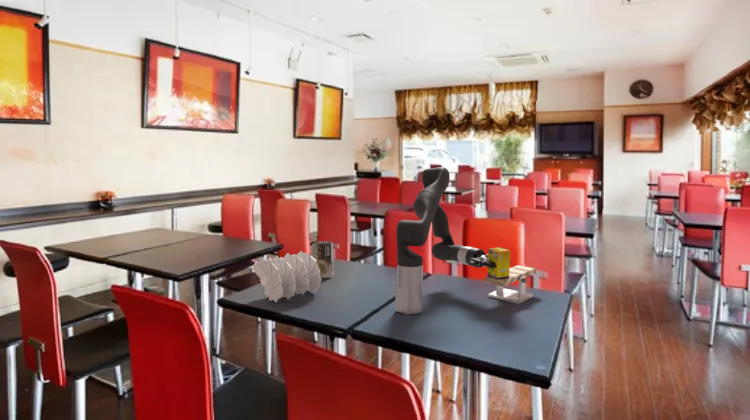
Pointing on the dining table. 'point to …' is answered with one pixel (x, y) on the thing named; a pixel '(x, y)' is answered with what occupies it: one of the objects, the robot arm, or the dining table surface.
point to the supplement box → (499, 263)
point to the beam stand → (512, 293)
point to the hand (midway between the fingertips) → (502, 264)
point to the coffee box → (324, 257)
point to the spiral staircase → (288, 275)
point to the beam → (511, 275)
